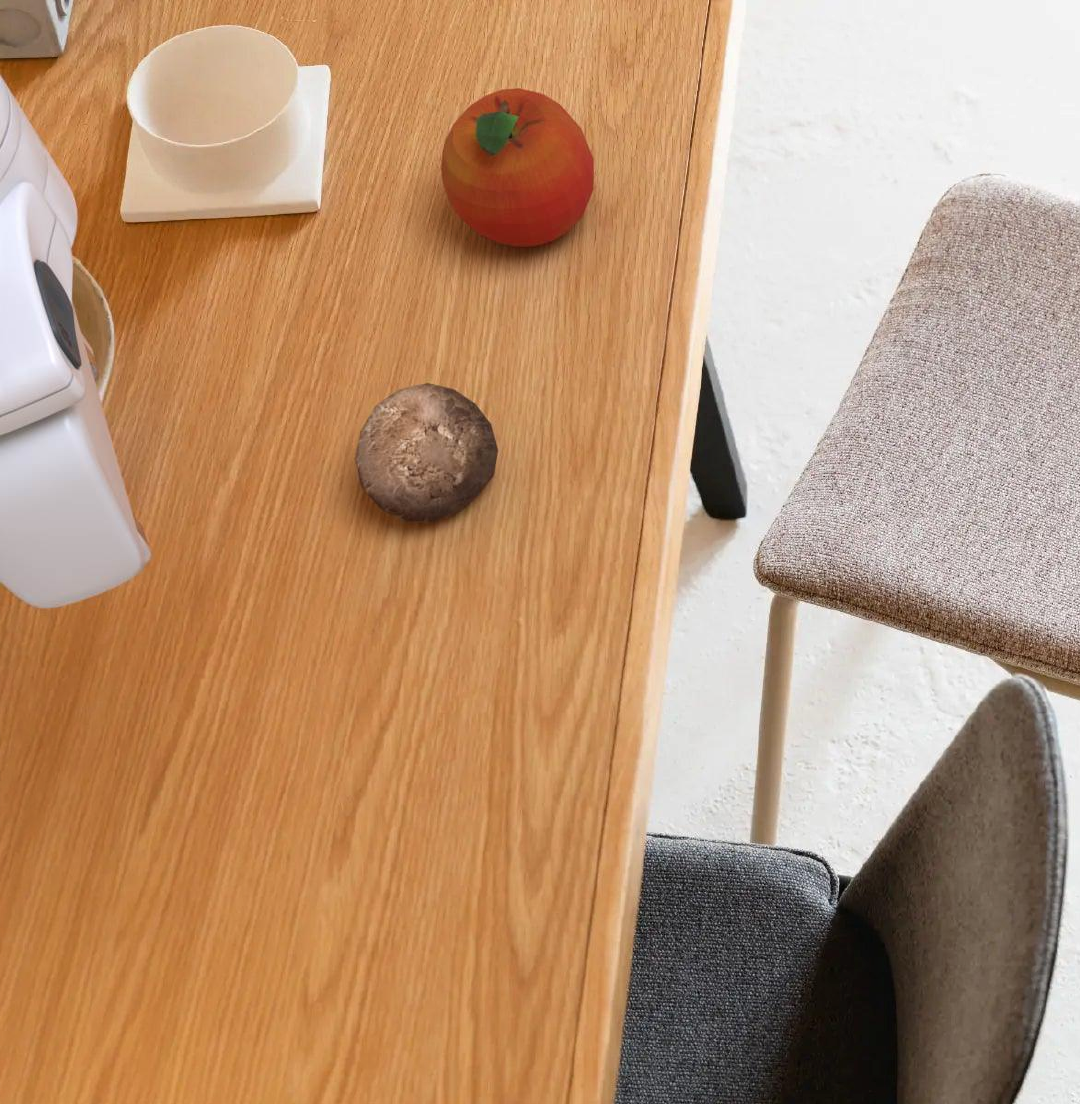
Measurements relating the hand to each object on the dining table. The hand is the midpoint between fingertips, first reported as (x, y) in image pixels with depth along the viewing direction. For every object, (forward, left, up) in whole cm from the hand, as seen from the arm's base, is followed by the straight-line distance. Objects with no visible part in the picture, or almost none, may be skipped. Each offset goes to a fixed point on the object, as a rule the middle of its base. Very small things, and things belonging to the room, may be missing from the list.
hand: (101, 461), depth 58 cm
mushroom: (+11, +11, -26) cm, 30 cm away
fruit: (+23, +28, -26) cm, 45 cm away
